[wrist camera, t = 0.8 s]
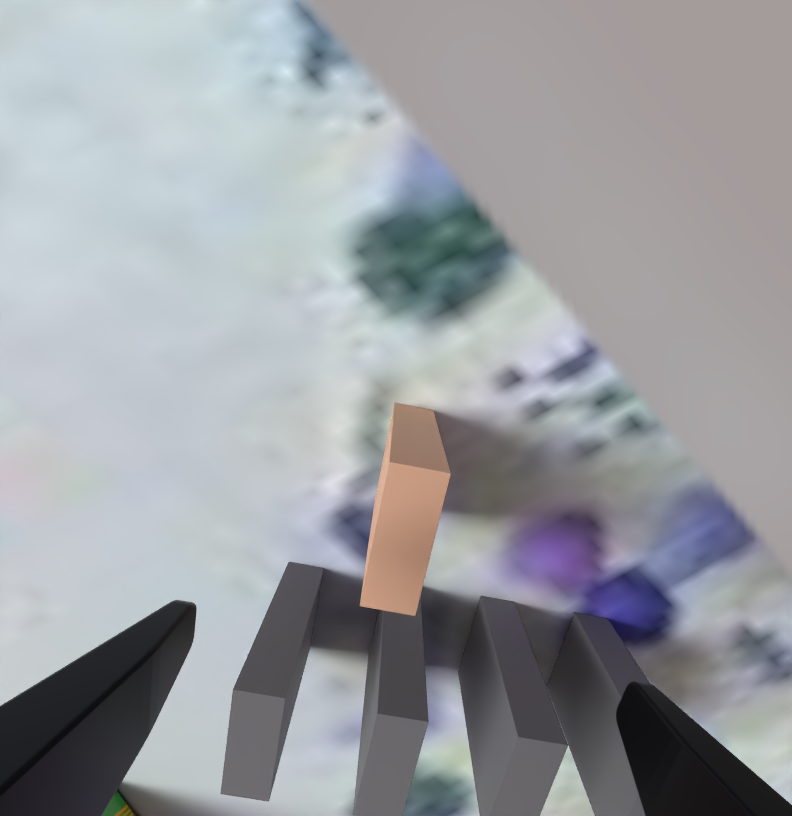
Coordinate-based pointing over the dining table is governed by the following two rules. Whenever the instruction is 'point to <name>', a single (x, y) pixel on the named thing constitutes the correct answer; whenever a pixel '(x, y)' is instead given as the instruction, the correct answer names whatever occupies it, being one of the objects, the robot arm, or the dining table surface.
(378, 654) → the domino
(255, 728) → the domino
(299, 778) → the dining table surface
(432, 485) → the tan rectangular block
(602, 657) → the domino
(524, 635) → the domino
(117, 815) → the chalk box
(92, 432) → the dining table surface
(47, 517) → the dining table surface
